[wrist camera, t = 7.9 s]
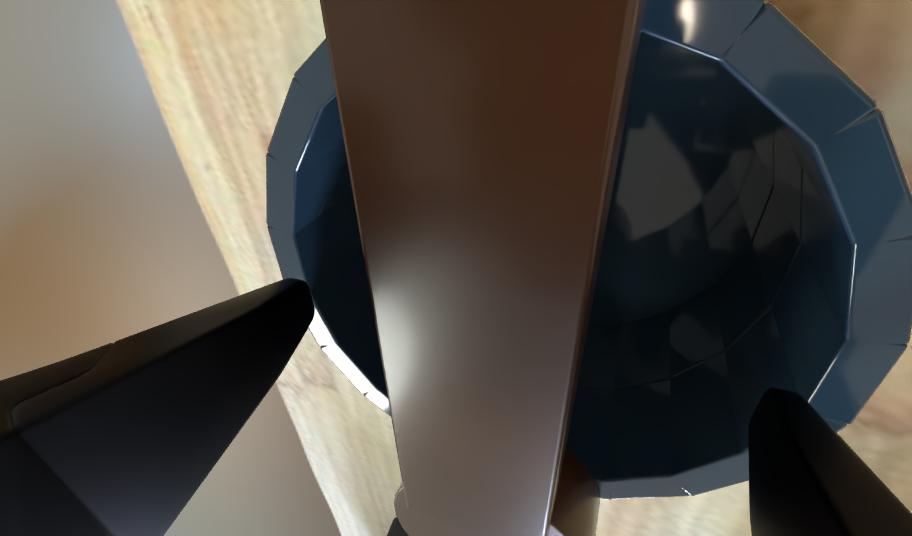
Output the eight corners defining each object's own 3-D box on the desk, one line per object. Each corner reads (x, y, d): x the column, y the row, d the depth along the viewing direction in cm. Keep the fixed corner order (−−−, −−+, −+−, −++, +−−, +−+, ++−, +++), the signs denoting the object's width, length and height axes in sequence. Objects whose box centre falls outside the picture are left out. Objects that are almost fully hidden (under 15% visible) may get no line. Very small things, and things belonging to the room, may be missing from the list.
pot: (907, -61, 9) (1227, -84, 4) (723, 364, 16) (751, 560, 11) (378, -41, 13) (185, -38, 8) (413, 296, 20) (323, 417, 15)
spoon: (345, -244, 6) (126, -380, 3) (839, -347, 4) (1070, -749, 2) (429, 494, 15) (387, 589, 13) (586, 551, 14) (570, 673, 11)
